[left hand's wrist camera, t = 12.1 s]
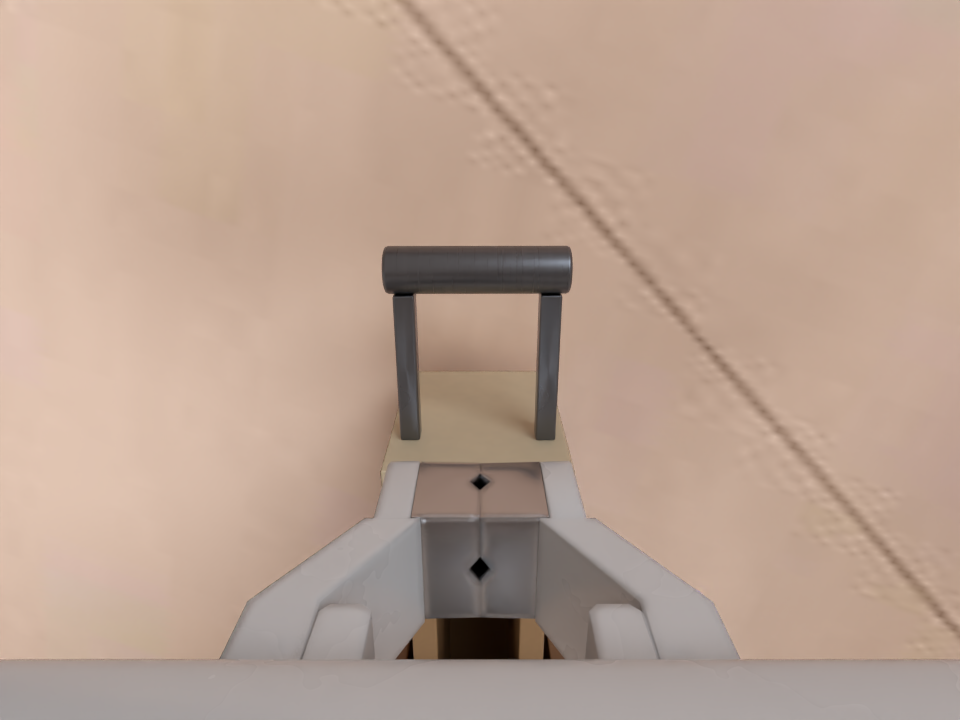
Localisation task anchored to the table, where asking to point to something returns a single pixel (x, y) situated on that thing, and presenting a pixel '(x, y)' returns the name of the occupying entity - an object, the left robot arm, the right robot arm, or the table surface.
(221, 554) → the table surface
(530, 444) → the drawer
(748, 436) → the table surface
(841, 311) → the table surface
